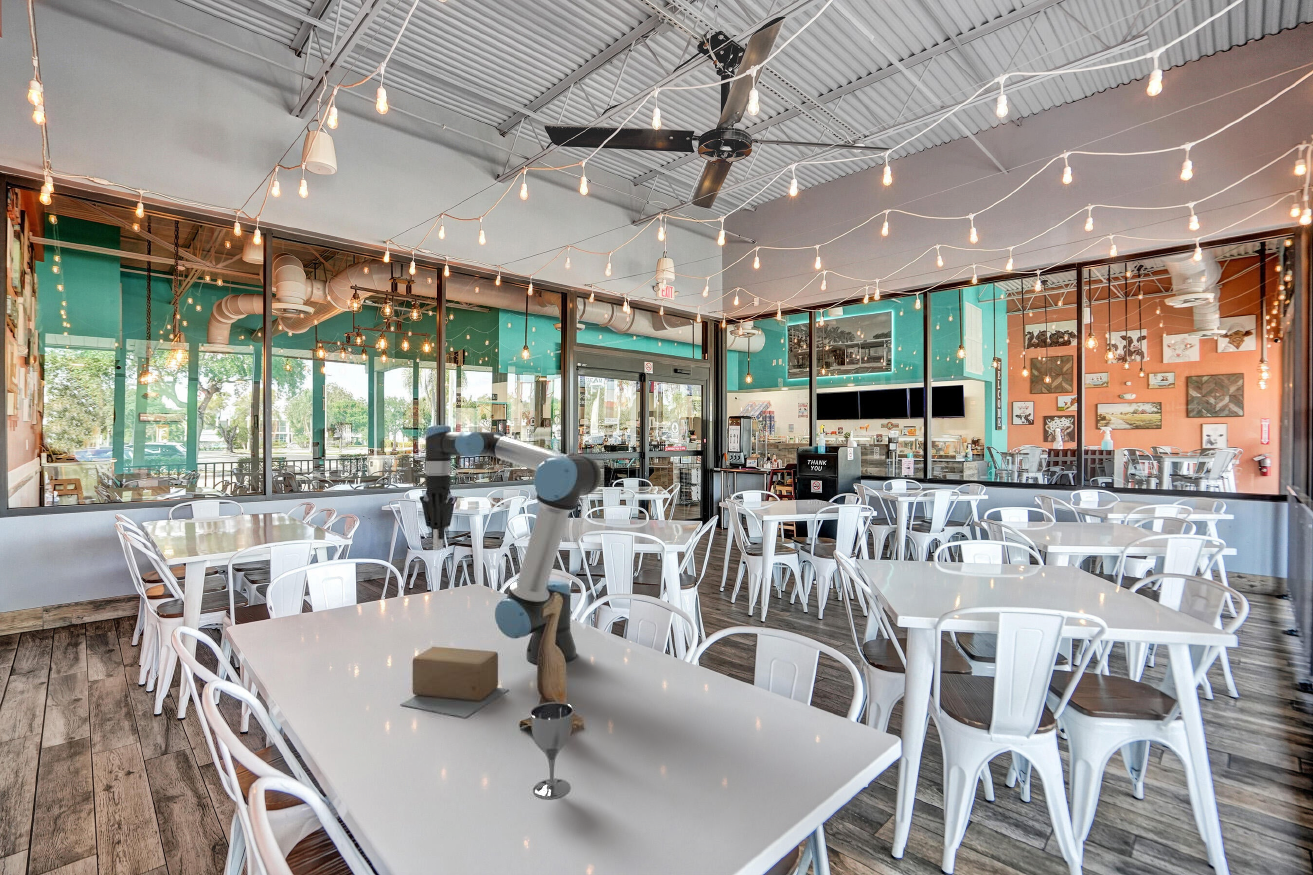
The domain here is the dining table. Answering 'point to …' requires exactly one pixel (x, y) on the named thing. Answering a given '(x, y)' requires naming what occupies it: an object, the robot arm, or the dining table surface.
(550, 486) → the robot arm
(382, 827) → the dining table surface
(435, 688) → the wooden block
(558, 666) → the bird sculpture
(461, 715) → the mat
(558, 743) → the wine glass
